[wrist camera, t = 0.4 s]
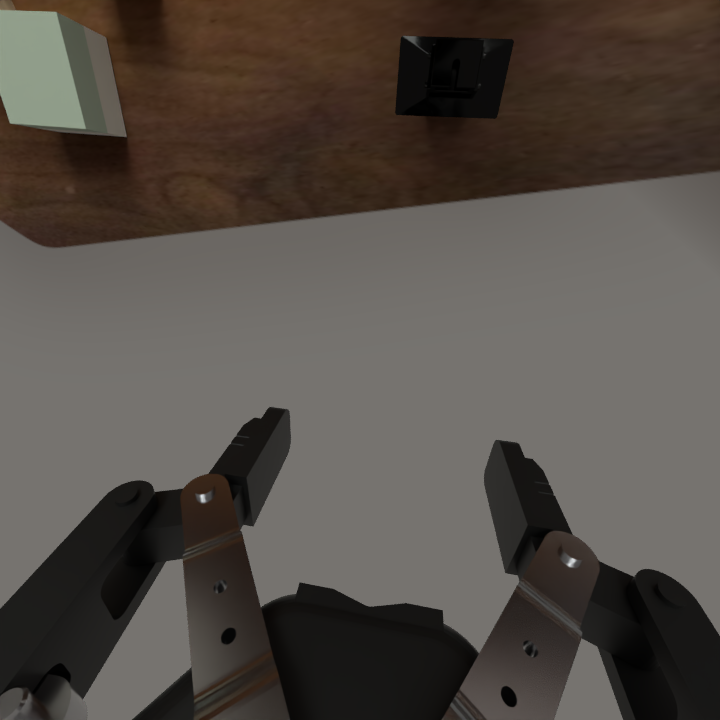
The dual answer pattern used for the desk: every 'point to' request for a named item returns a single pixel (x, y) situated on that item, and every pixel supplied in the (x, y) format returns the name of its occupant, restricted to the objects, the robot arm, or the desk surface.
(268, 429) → the robot arm
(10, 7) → the brick
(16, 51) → the brick base
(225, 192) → the desk surface
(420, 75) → the black angular block
